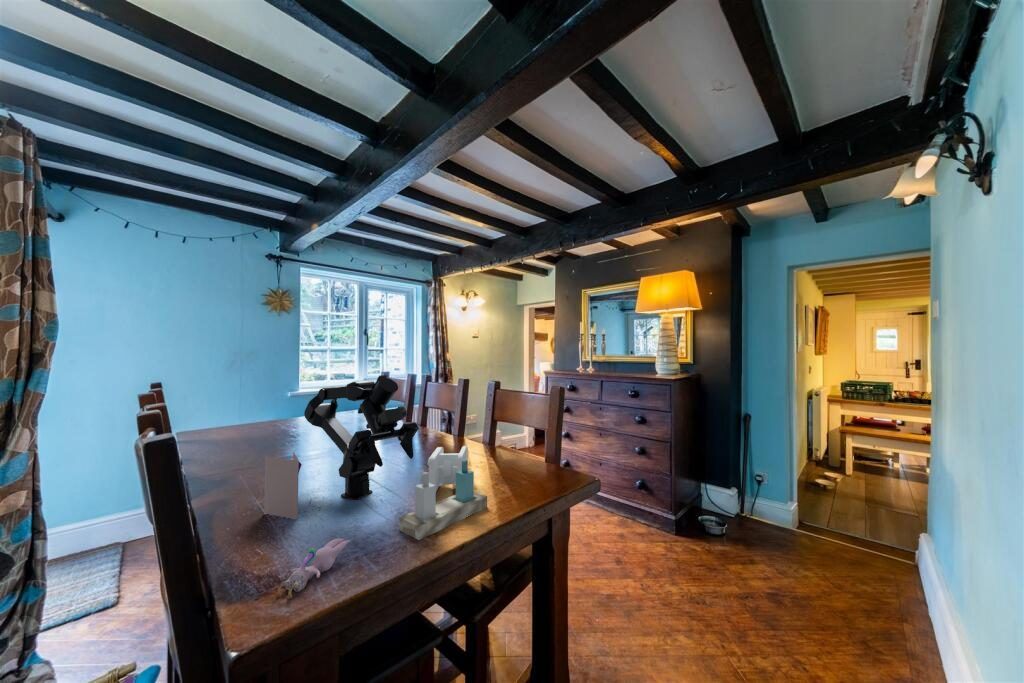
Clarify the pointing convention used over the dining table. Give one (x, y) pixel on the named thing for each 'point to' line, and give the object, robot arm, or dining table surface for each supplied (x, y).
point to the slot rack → (441, 516)
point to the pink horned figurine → (313, 565)
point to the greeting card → (281, 486)
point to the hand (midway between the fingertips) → (397, 461)
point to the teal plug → (464, 484)
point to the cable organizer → (445, 466)
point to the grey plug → (425, 499)
